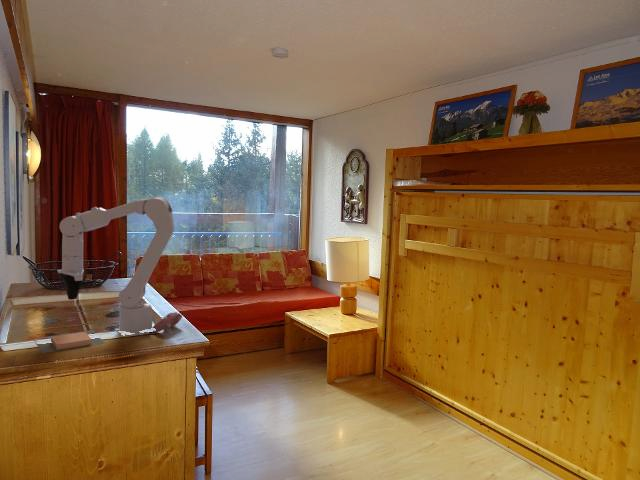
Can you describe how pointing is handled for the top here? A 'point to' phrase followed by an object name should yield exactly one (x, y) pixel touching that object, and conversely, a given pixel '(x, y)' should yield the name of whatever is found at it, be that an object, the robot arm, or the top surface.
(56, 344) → the tile
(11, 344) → the top surface
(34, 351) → the top surface
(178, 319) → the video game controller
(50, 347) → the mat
